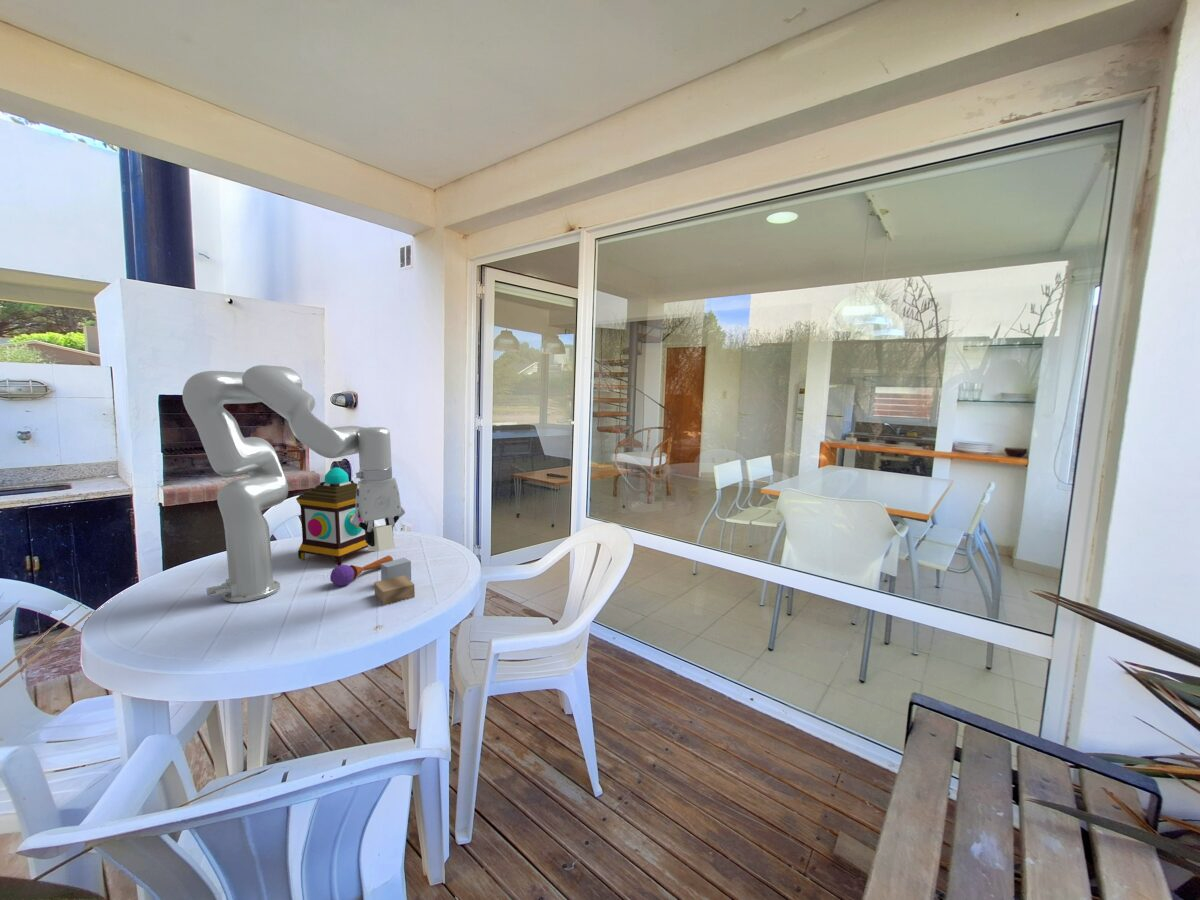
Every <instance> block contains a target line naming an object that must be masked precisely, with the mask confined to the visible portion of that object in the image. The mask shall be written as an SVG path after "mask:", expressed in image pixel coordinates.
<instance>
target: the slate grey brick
mask: <svg viewBox="0 0 1200 900" xmlns="http://www.w3.org/2000/svg"><path fill="white" fill-rule="evenodd" d="M403 575H405V576H406V577H407V578H408V579H409V580H410V581H412V561H411V560H410V559H408V558H406V557H402V558H398V559H393V561H389V562H386V563H382V564H381V568H380V579H381V580H380V581H382V580H386V579H390V578H395V577H399V576H403Z"/></svg>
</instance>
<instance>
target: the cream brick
mask: <svg viewBox="0 0 1200 900" xmlns="http://www.w3.org/2000/svg"><path fill="white" fill-rule="evenodd" d="M372 531H374V546H373V547H372V546H370V545H368V544H367V545H368V547H367V551H368V552H382V551H386V550H390V549H394V548H396V546H395V539H394V530H393V531H392V525H386V524H385V525H377V526H374V527H372Z"/></svg>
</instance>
